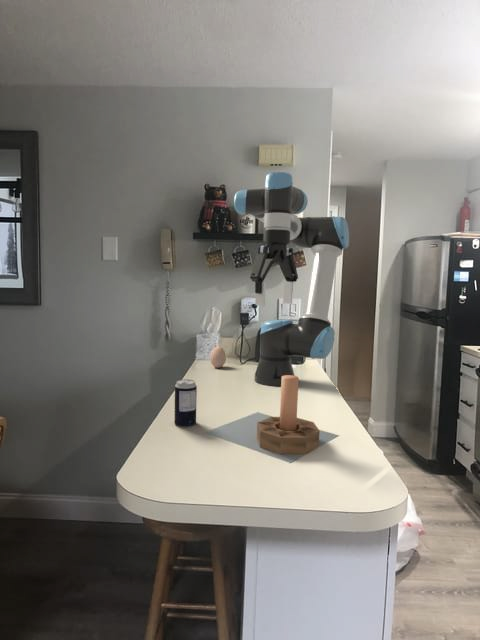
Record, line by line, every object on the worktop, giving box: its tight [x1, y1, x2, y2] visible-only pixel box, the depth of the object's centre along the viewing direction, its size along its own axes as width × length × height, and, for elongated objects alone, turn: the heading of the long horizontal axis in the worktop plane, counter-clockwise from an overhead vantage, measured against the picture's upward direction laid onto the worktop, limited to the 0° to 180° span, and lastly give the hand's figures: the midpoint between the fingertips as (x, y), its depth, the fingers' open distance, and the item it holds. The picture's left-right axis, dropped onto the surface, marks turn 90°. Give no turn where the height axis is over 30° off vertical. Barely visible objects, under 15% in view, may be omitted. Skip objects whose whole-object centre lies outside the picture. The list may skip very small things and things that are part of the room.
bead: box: [257, 416, 321, 455], centre depth 107 cm, size 14×14×4 cm
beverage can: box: [174, 378, 198, 428], centre depth 118 cm, size 6×6×12 cm
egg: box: [209, 345, 227, 369], centre depth 187 cm, size 7×7×9 cm
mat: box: [204, 411, 340, 464], centre depth 113 cm, size 22×26×1 cm
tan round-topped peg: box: [279, 375, 300, 431], centre depth 106 cm, size 4×4×16 cm
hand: (274, 304), depth 129 cm, fingers open, 13 cm apart
